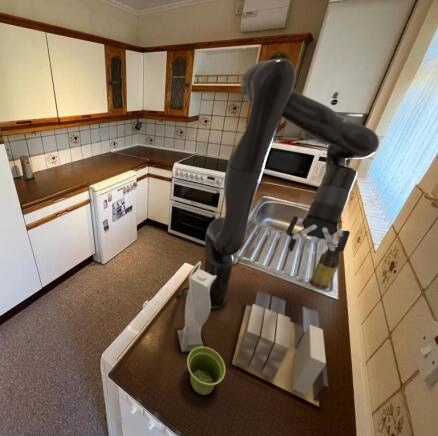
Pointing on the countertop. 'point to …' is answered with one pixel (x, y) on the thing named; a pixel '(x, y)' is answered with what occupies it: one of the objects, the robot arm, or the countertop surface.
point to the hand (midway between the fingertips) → (306, 256)
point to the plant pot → (205, 369)
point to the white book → (308, 359)
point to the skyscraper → (196, 309)
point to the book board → (275, 344)
